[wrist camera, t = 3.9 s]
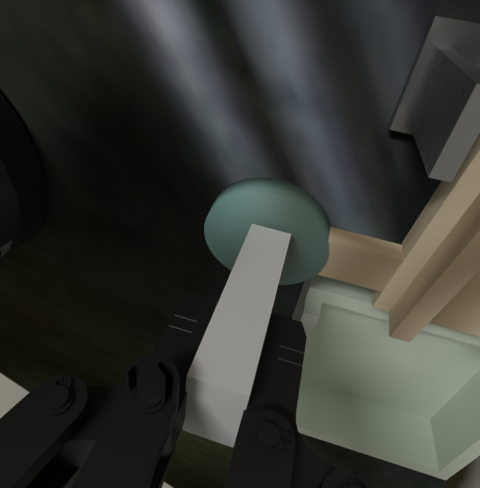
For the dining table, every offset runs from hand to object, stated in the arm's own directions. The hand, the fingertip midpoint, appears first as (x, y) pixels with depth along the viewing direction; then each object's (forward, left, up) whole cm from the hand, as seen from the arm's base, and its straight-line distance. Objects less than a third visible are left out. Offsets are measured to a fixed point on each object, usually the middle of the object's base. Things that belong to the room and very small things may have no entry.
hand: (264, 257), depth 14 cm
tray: (+8, -9, -6) cm, 14 cm away
